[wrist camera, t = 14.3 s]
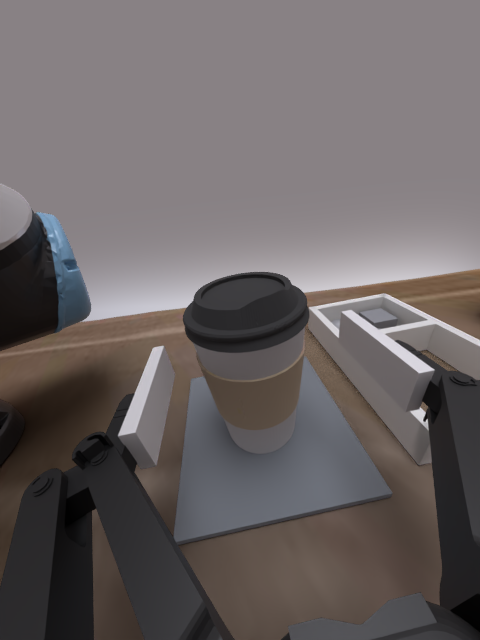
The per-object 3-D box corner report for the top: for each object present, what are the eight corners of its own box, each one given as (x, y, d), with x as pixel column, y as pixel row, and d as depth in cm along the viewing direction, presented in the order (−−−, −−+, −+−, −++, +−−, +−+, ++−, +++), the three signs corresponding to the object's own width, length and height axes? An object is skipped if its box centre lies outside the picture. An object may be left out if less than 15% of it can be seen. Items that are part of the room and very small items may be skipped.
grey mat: (175, 545, 15) (172, 542, 15) (192, 382, 29) (191, 378, 29) (390, 497, 16) (392, 493, 15) (305, 359, 30) (305, 356, 29)
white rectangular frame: (418, 465, 17) (433, 435, 15) (308, 328, 36) (308, 307, 34) (567, 432, 18) (600, 399, 16) (380, 314, 37) (384, 293, 35)
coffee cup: (204, 411, 24) (161, 285, 16) (269, 374, 27) (257, 257, 20) (247, 492, 17) (205, 335, 9) (327, 429, 20) (343, 277, 13)
